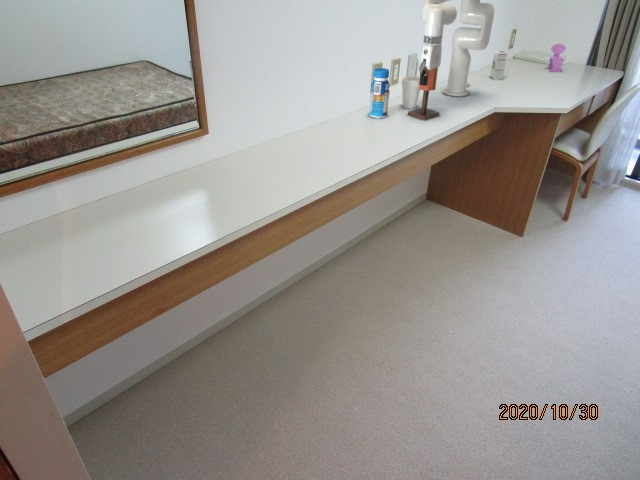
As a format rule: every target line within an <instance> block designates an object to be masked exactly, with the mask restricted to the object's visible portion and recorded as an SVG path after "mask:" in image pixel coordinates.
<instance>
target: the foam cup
mask: <svg viewBox="0 0 640 480" xmlns="http://www.w3.org/2000/svg"><path fill="white" fill-rule="evenodd" d="M419 79H420V76H414V75H413V76H412V75H411V76H409V75H408V76H407V75H406V76H402V77H401V87H402V88H401V91H402V107H403V108H405V109H417V105H418V100H419V97H420V92H421V90H420V89H419Z"/></svg>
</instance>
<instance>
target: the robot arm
mask: <svg viewBox="0 0 640 480" xmlns="http://www.w3.org/2000/svg"><path fill="white" fill-rule="evenodd" d="M450 1H451V0H426V1H425V3H424V5H423V7H422V11H421V19H422V21H423V23H424V33H423V43H422V44H423V46H422V51H421V56H420V63H419V64H420V65H419V66H418V70H419V77H420V85H423V86H426V85H427V77H428V76H427V73H428V69H429V70H432V69H434V68H437V67H438V68H440V66H441V62H442V52H443V51H442V49H443V48H442V47H443V46H442V42H443V35H444V26H449V25H452V24H454V22H455V21H456V19H457V16H458V20H459V23H461V24H463V25H471V26H480V28H479V27H469V26H461V27H457V28H456V29H455V30H454V31H453V33H452V37H451V47H452V48H451V58H450V63H449V64H450V65H449V72H448V77H447V78H448V79H447V85H446V88H444V89H443V90H442V92H443V94H444V95H446V96H450V97H465V96H468V95H469V91H468V90H467V88H470V87H471V83H468V77H469V72H470V67H471V66H470V65H471V61H472V57H471V54H470V50H473V51H474V50H475V51H484V50H486V49H487V47H488V46H489V43H490V38H491V33H492V28H493V23H494V17H495V6H494V5H493V3H492V4H491V3H489V2H481V0H461V1H460V7H459V13H458V10H457V8H456V6H455V5H452V4H444V3H447V2H450ZM424 67H426V68H424ZM424 70H426V72H425V71H424Z"/></svg>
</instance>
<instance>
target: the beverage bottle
mask: <svg viewBox="0 0 640 480" xmlns="http://www.w3.org/2000/svg"><path fill="white" fill-rule="evenodd" d="M372 76H373V80H372V82H371V83H370V87H371V89H370V90H369V91H370V92H369V93H370V96H369V98H370V99H369V116H370V117H372V118H375V119H376V118H377V119H383V118H386V117H388V113H389V112H388V111H389V100H390V87H391V85H390V82H389V77H390V69H389V68H383V67H378V68H374V69H373V75H372Z"/></svg>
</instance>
